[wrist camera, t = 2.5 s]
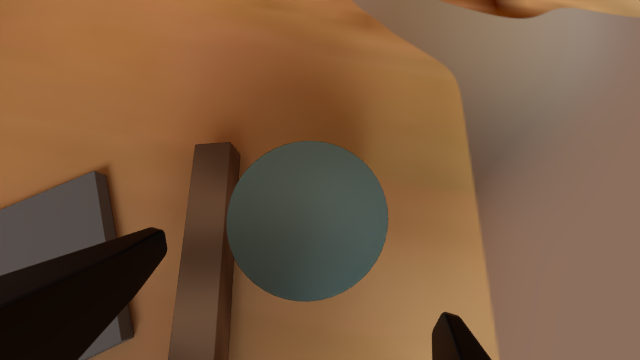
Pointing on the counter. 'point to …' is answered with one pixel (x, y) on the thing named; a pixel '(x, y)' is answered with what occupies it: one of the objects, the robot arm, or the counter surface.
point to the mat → (63, 236)
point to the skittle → (307, 221)
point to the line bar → (206, 258)
